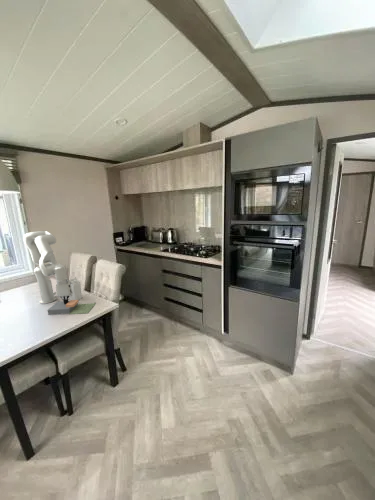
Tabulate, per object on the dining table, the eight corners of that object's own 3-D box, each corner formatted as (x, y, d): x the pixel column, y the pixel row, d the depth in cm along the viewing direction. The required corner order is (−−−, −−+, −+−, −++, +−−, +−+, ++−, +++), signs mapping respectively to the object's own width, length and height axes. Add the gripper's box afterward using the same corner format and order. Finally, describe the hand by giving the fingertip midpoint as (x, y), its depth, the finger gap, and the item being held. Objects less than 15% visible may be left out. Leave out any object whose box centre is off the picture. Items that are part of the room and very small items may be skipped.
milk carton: (69, 300, 188) (65, 279, 184) (76, 297, 195) (72, 276, 190) (76, 301, 186) (72, 280, 182) (82, 297, 193) (79, 277, 188)
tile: (71, 302, 175) (70, 300, 175) (78, 302, 175) (78, 299, 175) (65, 307, 168) (65, 304, 167) (73, 306, 168) (73, 304, 167)
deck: (58, 305, 179) (57, 301, 178) (78, 304, 179) (77, 300, 178) (48, 314, 165) (47, 310, 165) (69, 313, 166) (68, 308, 165)
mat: (78, 304, 180) (78, 303, 180) (95, 303, 180) (95, 303, 180) (68, 314, 165) (68, 313, 165) (87, 313, 165) (87, 312, 165)
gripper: (74, 279, 171) (78, 301, 175) (55, 280, 171) (59, 302, 175) (69, 283, 163) (73, 305, 168) (49, 284, 163) (54, 306, 167)
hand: (66, 303), depth 171 cm, fingers closed
